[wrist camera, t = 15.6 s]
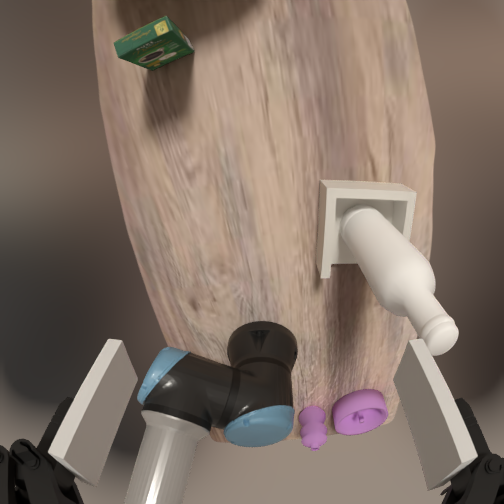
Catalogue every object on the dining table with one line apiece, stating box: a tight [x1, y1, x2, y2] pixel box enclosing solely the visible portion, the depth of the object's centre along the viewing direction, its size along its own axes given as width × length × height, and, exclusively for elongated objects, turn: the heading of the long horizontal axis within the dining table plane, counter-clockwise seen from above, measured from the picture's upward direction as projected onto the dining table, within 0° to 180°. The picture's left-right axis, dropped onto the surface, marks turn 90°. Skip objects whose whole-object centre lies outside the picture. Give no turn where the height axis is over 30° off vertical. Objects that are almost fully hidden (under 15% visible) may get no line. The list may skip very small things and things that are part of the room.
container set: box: [299, 389, 388, 451], centre depth 67 cm, size 25×15×13 cm, turn 96°
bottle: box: [340, 204, 459, 355], centre depth 35 cm, size 8×8×30 cm
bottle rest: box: [316, 180, 417, 278], centre depth 47 cm, size 15×15×6 cm
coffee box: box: [114, 16, 194, 71], centre depth 32 cm, size 8×3×13 cm, turn 109°
